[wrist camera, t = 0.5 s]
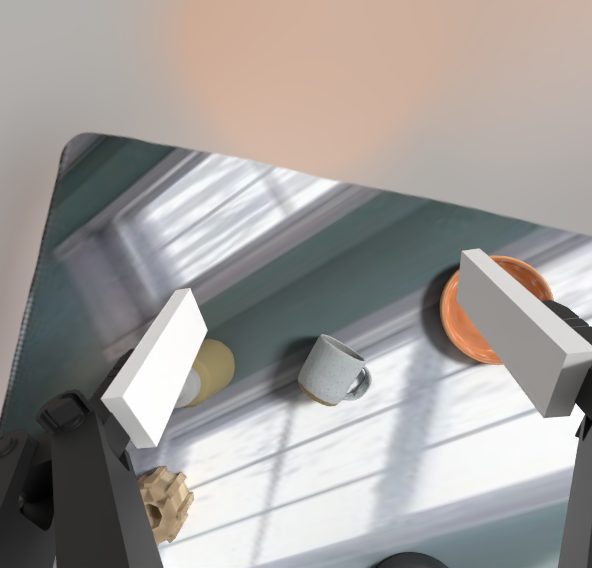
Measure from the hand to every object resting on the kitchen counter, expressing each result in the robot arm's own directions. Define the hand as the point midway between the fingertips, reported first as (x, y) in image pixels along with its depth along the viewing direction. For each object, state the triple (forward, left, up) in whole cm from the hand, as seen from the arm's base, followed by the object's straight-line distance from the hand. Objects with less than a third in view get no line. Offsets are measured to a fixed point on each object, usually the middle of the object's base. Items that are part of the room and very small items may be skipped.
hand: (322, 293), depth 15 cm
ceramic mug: (-12, +2, -34) cm, 36 cm away
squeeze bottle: (-3, +19, -34) cm, 39 cm away
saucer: (-14, -23, -34) cm, 43 cm away
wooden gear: (-19, +36, -34) cm, 53 cm away
